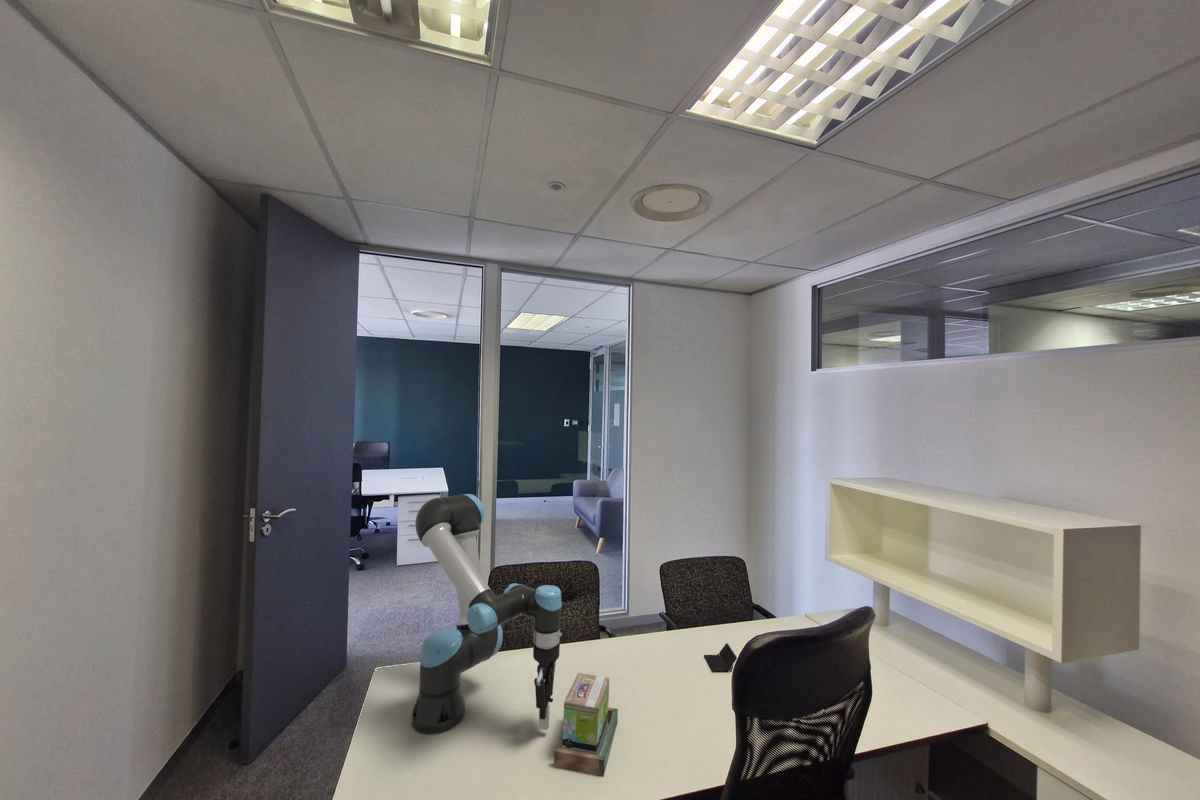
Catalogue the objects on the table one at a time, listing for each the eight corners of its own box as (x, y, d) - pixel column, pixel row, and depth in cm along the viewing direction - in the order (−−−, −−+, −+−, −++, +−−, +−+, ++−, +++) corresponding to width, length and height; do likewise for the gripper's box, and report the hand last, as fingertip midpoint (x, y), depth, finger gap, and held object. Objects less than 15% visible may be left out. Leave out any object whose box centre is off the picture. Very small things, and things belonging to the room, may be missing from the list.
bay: (553, 767, 114) (554, 750, 115) (574, 715, 135) (575, 702, 135) (603, 776, 112) (603, 760, 112) (617, 722, 132) (617, 709, 132)
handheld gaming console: (698, 653, 170) (715, 632, 170) (711, 662, 171) (728, 642, 172) (712, 674, 159) (729, 652, 159) (725, 684, 160) (743, 662, 161)
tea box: (597, 766, 115) (598, 707, 116) (560, 759, 117) (562, 701, 118) (608, 727, 130) (609, 675, 130) (575, 722, 132) (576, 671, 133)
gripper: (552, 656, 120) (548, 746, 119) (565, 634, 133) (562, 714, 132) (526, 652, 122) (522, 741, 121) (541, 630, 134) (538, 710, 133)
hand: (543, 727), depth 126 cm, fingers closed
